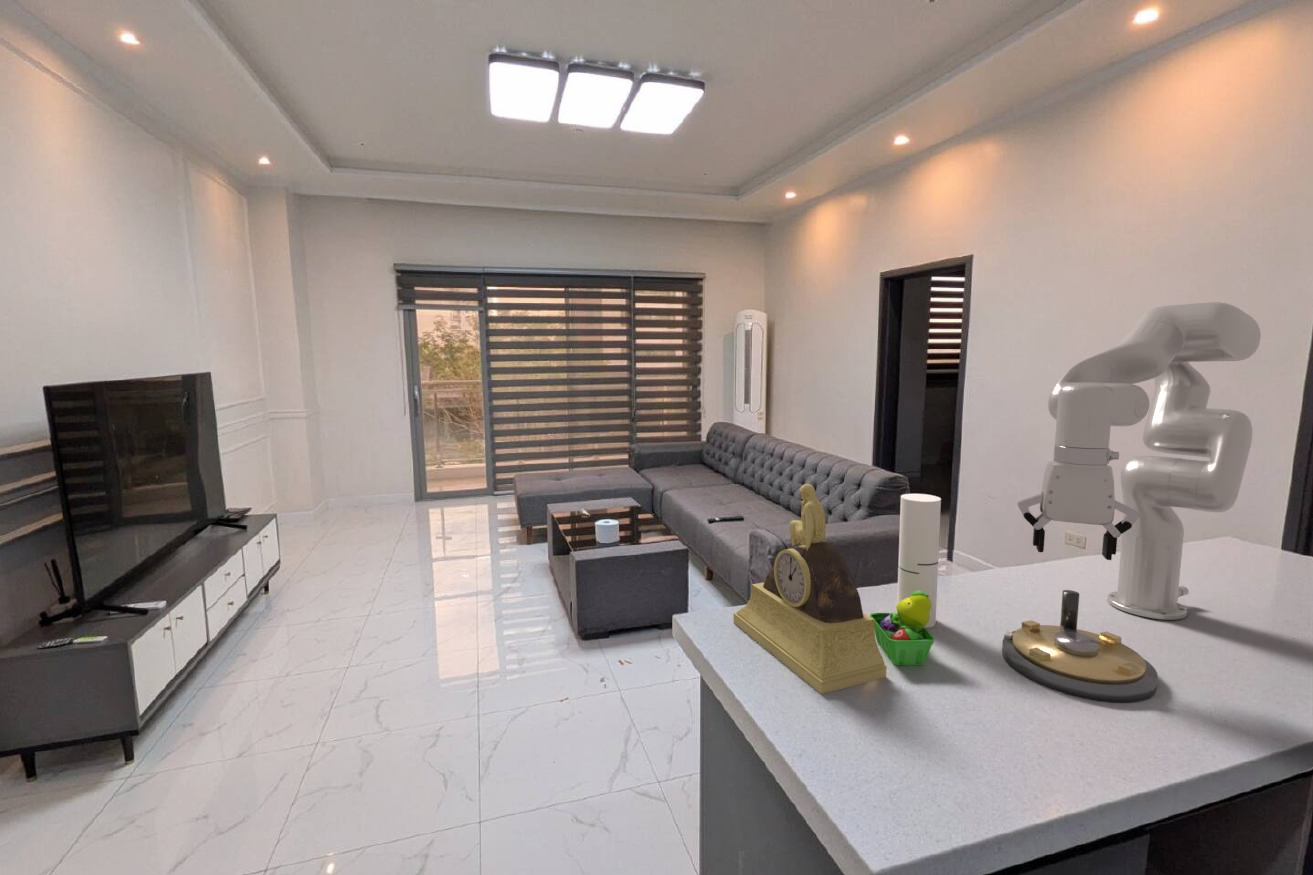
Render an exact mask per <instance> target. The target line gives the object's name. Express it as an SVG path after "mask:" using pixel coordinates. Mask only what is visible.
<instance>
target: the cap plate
mask: <svg viewBox="0 0 1313 875" xmlns="http://www.w3.org/2000/svg"><path fill="white" fill-rule="evenodd" d="M1015 631H1016V630H1014V631H1006V632H1005V634H1004V635H1003V639H1002V643H1001V644H1002V645H1001V655H1002V658H1003V660H1004V662H1005V663H1006V664H1007V665H1008V666H1009V667H1010V668H1011V669H1013V671H1015V672H1017V674H1019V675H1020V676H1022V677H1024V678H1025V679H1028V680H1029V681H1031V682H1032V683H1035V684H1038V685H1040V686H1042V687H1045V688H1046V689H1049V690H1053V691H1055V692H1058V693H1060V694H1065V695H1068V696H1071V697H1075V698H1080V699H1084V700H1090V701H1096V702H1102V703H1111V704H1112V703H1113V704H1114V703H1115V704H1130V703H1131V704H1134V703H1139V702H1144V701H1146V700H1149V699H1151V698H1152V697H1154V695H1156V693H1157V690H1158V680H1159V676H1158V672H1157V670H1156V668H1155V667H1154V666H1153V665H1152V663H1150V662H1149V661H1148V660H1146V659H1145V658H1143V659H1144V661H1145V663H1146V673H1145V676H1144V677H1143V679H1141V680H1139V681H1137V682H1134V683H1129V684H1100V683H1093V682H1087V681H1082V680H1077V679H1073V678H1069V677H1066V676H1062V675H1059V674H1056V673H1053V672H1050V671H1048V670H1046V669H1043V668H1041V667H1039V666H1037V665H1035V664H1033V663H1031V662H1029V661H1028V660H1026V659H1025V658H1023V657H1022V656H1021V655H1019V654H1018V653H1017V652H1016V650H1015V649H1014V647H1013V634H1014V632H1015Z"/></svg>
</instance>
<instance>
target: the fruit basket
mask: <svg viewBox="0 0 1313 875" xmlns="http://www.w3.org/2000/svg"><path fill="white" fill-rule="evenodd" d="M928 597H929V595H927V594H925V593H924V592H922V591H915V592H914V593H913V594H912V595H911V596H910V597H908V598H905V599H903V600H901V601H900V602H899V603H898V604H897V603H896V612H873V613H872V612H871V613H870V614H869V617H871V618H873V619H874V632H875V639H876V643H877V645H879V646H880V647H881V650H883V651H884V653H885V654H886V656H887V657H888V658H889V659H890V661H891V662H892V663H893V665H894V666H918V665H919V666H925V664H926V663H927V659H928V656H929V654H930V650H931V648H932V646H933V644H934V642H935V637H934V636H933V635H932V634H931V633H930V632H929V631H928V630H927V628H924V627H925V626H926V625H927V623H928V621H929V618H930V609H931V602H930V600H929V599H928ZM897 612H898V613H897Z"/></svg>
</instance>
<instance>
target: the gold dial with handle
mask: <svg viewBox="0 0 1313 875" xmlns="http://www.w3.org/2000/svg"><path fill="white" fill-rule="evenodd" d="M1079 603H1080V593H1079V592H1078V591H1075V590H1071V589H1064V590H1062V596H1061V611H1060V612H1061V613H1060V621H1059V622H1060V623H1059V624H1060V625H1053V624H1052V625H1049V624H1041V623H1039V622H1037V621H1034V620H1032V619H1031V620H1026V621H1022V622H1021V627H1020V628H1018V629H1016V630H1014V631H1015V632H1014V634H1013V647H1014V649H1015V650H1016V652H1017V653H1018V654H1019V655H1021V656H1022V657H1023V658H1025V659H1026V660H1028V661H1029V662H1031V663H1033V664H1035V665H1037V666H1039V667H1041V668H1043V669H1046V670H1048V671H1050V672H1053V673H1056V674H1059V675H1062V676H1066V677H1069V678H1073V679H1077V680H1082V681H1087V682H1093V683H1100V684H1129V683H1134V682H1137V681H1139V680H1141V679H1143V677H1144V676H1145V673H1146V663H1145V661H1144V659H1145V658H1143V656H1141V655H1140V654H1139V652H1137V651H1135V650H1134V649H1133V648H1131V647H1129V646H1127V645H1125V644H1123V643H1122V637H1121V636H1120V635H1116V634H1114V633H1112V632H1109V631H1103V632H1099V634H1098V633H1095V632H1091V631H1087V630H1083V629H1078V617H1079V606H1080V605H1079Z"/></svg>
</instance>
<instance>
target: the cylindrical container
mask: <svg viewBox="0 0 1313 875" xmlns="http://www.w3.org/2000/svg"><path fill="white" fill-rule="evenodd" d="M941 504H942V498H941V497H939V496H938V495H937V496H936V495H932V494H927V493H904V494H901V495H900V506H899V508H900V509H899V513H900V514H899V537H898V539H899V540H898V542H899V543H898V567H897V595H896V597H897V598H896V605H897V604H898V603H899V602H900V601H901V600H903V599H905V598H908V597H910V596H911V595H912V594H913V593H914V592H915V591H922V592H924V593H925V594H927V595H929V597H928V599H929V600H930V602H931V609H930V618H929V621H928V623H927V625H926V626H925V627H924V628H925V629H927V628H932V627H934V626H935V625H936V624H937V623H936V622H937V621H936V619H937V598H938V597H937V596H938V580H939V579H938V575H939V572H938V571H939V555H940V529H941V526H940V525H941V506H942V505H941ZM896 613H898V612H897V611H896Z"/></svg>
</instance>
